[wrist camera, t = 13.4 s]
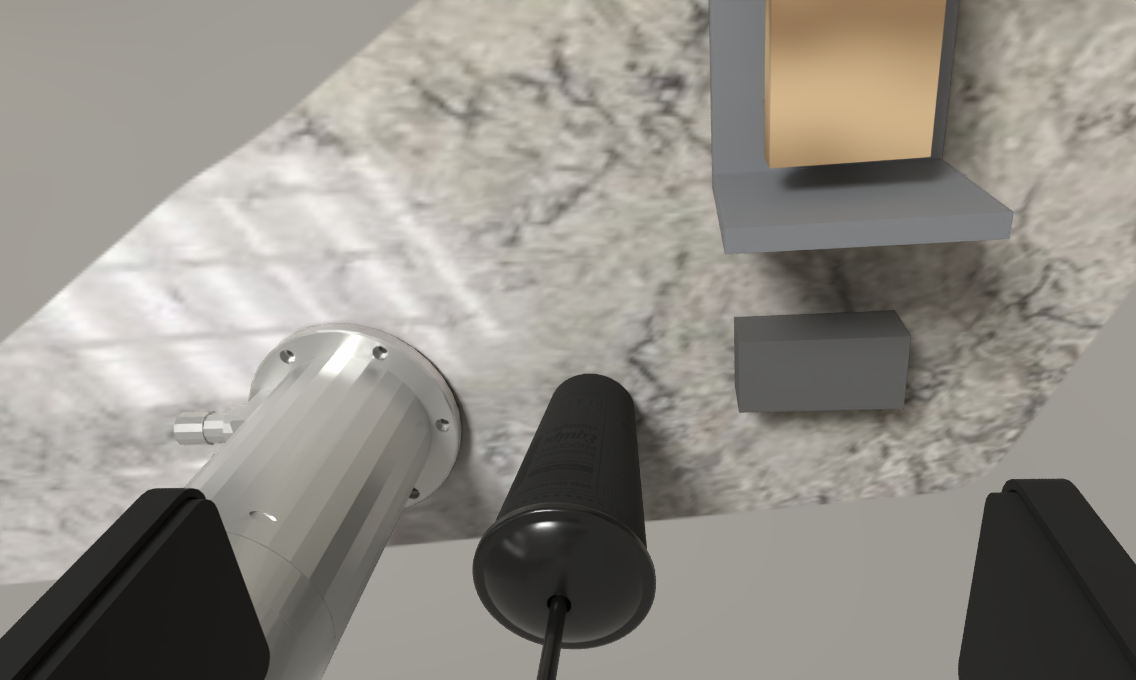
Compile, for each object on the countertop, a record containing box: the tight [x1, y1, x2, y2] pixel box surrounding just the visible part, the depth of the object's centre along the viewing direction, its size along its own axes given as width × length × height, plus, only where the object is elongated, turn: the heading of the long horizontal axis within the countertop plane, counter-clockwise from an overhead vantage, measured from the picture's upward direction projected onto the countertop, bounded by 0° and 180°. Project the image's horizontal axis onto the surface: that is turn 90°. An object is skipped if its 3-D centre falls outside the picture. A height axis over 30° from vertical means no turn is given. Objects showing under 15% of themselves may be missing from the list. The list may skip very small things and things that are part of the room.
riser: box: [734, 311, 911, 413], centre depth 39 cm, size 8×4×3 cm, turn 96°
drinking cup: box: [473, 374, 656, 680], centre depth 35 cm, size 8×8×20 cm
